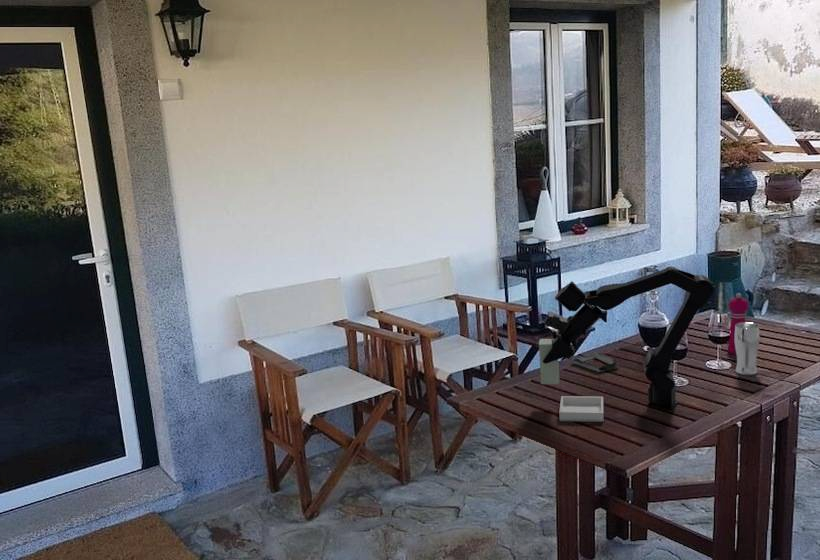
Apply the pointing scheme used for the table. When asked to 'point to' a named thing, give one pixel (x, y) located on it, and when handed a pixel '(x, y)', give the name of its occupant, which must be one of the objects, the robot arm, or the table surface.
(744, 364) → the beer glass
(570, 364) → the table surface
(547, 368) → the handle block
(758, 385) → the table surface
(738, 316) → the pepper mill
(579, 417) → the tray
